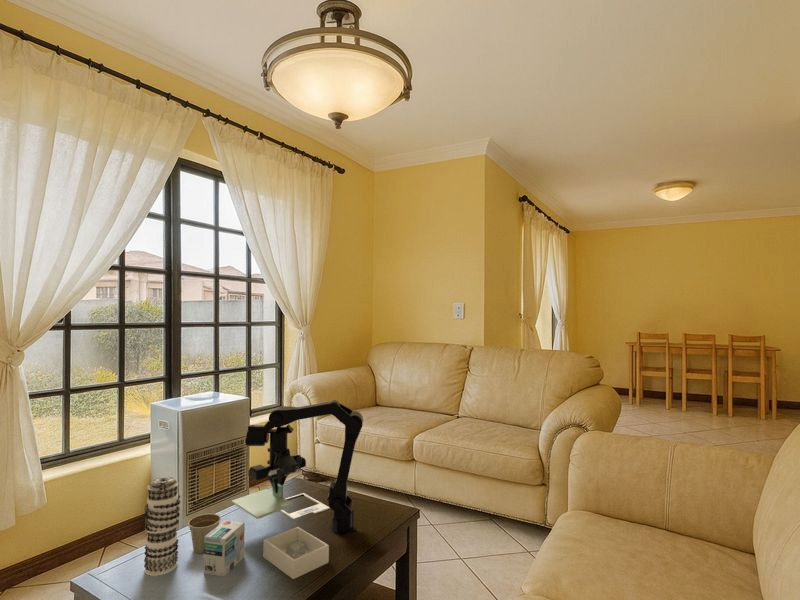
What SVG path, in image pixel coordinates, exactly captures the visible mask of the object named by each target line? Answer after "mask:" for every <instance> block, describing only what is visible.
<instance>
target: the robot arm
mask: <svg viewBox="0 0 800 600" xmlns="http://www.w3.org/2000/svg"><path fill="white" fill-rule="evenodd" d="M328 415H332V416H333V417H335V418H336V419H337V420H338V421H339V422H340V423H341V424H343V425H344V444H343V447H342V448H343V449H342V453H341V458H340V463H339V467H338V468H339V469H338V473H337V477H336V479H335V481H330V484H329V489H328V490H329V491H328V493H327V498H326V501H328V507H330V510H332V511H333V517H332V527H331V528H330V530H331V531H333V532H334V533H335V534H339V535H340V536H344V535H346V534H349V533H350V534H351V533H354V532H356V531H357V528H356V527H355V526H354V524H355V523H354V520H355V519H354V517H355V515H354V514H355V513H354V512H355V511H354V510H353V507H354V506H353V505H354V504H353V503H354V500H353V499H352V498H351V497H350V496H349V495H348V479H349V473H350V469H351V465H352V460H353V455H354V450H355V445H356V442H357V440H358V438H359V436H360V433H361V431H362V427H363V424H364V423H363V422H364V417H363V414H361V413H360V412H359V411H357V410H352V409H351V408H350V407H348V406H346V405H343V404H342V403H340V402H339V401H338V400H336V399H335V400H331V401H326V402H321V403H315V404H308V405H303V406H291V405H290V406H289V405H286V406H285V405H284V406H282V405H281V406H280V405H279V406H277V407H276V408H274V409H273V410H272V411H271V412H270V413H269V415H268V421H266V422H265V424H264V425H262V424H261V425H260V424H257V425H256V424H249V425H248V426H247V431H246V435H245V436H246V437H245V446H246V447H265V445H266V444H268V443H269V448H268V447H267V452H268V453H269V459H268V460H267V461H266V462H267V464H268V466H264V465H262V464H256V465H253V466H250V468H249V469H248V477H250V478H251V479H254V480H256V481H258V480H263V479H266V478H267V479H268V480H269V483H270V484H271V487H272V491H273V490H274V492H275V493H276V494H277V492H278V484H280V485H282V486H283V487H284V485H285V482H286V479H287V477H288V476H289V475H290V474H292V473H296V471H297V469H301V468H305V467H307V460H306V459H305V457H302V455H301V454H296V455H291V451H290V448H288V434H292V433H293V432H294V427H292V426H291V425H290V424H291V423H294V422H296V421H300V420H304V419H312V418H316V417H322V416H328Z"/></svg>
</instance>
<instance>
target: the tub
mask: <svg viewBox="0 0 800 600" xmlns="http://www.w3.org/2000/svg"><path fill="white" fill-rule="evenodd" d="M297 540H299V541H300V542H302V543H303V544H305V553H304V554H302V555H303V556H301V557H298V558H296V559H293V558H291V557H290V555H289V554H287V553H286V545H287V544H289V543H292V542H294V541H297ZM262 543H263V550H262V551H263V552H262V555H263V556H262V557H263V558H265V560H267V561H268V562H270V563H271V564H272V565H273V566H275V567H276V568H278V569H279V570H280V571H281V572H283V573H284V574H286V576H288V577H289V578H290V579H292V580H294V579H297V578H299V577H301V576H303V575H306V574H307V573H309V572H312V571H315V570H316V569H318V568H320V567H323V566H325V565H326V564H329V559H330V550H329V549H330V546H329V544H327V543H326V542H324V541H322V540H321V539H320V538H317V537H316V536H315V535H312V534H311V533H309V532H307V531H306V530H304V529H303V528H301V527H299V526H297V527H294V528H291V529H288V530H286V531H283V532H281V533H278V534H276V535H273V536H270V537H268V538H265V539H263V542H262Z"/></svg>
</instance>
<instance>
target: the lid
mask: <svg viewBox="0 0 800 600" xmlns="http://www.w3.org/2000/svg"><path fill="white" fill-rule="evenodd" d="M231 504H234V505H235V506H236V507H238V508H240V509H241V510H242V511H244V512H245V513H247V514H249V515H250V516H252V517H253V518H255V519H257V520H258V519H262V518H264V517H267V516H269V515H273V514H275V513H277V512H281V511H280V510H285V509H288V508H289V507H292V506H294V503H293V502H291V501H290V500H289V499H287V500H286V498H284V485H283V486H282V485H280V484H278V492H277V494H276V493H275V492H274V490H273V489H272V490H270V489H268V488H265V489H262V490H259V491H256V492H253V493H249V494H247V495H244V496H241V497H239V498H235V499H233V500H231Z"/></svg>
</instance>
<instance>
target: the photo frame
mask: <svg viewBox="0 0 800 600" xmlns="http://www.w3.org/2000/svg"><path fill="white" fill-rule="evenodd" d="M302 495H303V496H304V497H305V498H307V499H309V500H310V501H312V502H314V503H316V504H314V505H311V506H309V507H305V508H302V509H298V510H297V511H293V512H291V513H288V512H287V511H285V509H283V510H280V511H279V512H281V513H282V514H283V515H286V516H287V517H289V518H290V519H291V520H294V519H297V518H300V517H302V516H305V515H307V514H310V513H314V514H319V513H322V512H325V511H327V510H331V508H330V507H329V505H326V504H324V503H323V502H321V501H319V500H317V499H315V498H314V497H311V496H310V495H308V494H307V493H304V492H302V493H299V494H296V495H293V496H289V497H286V498H285V499H286V500H290V499H294V498H296V497H299V496H302Z"/></svg>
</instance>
